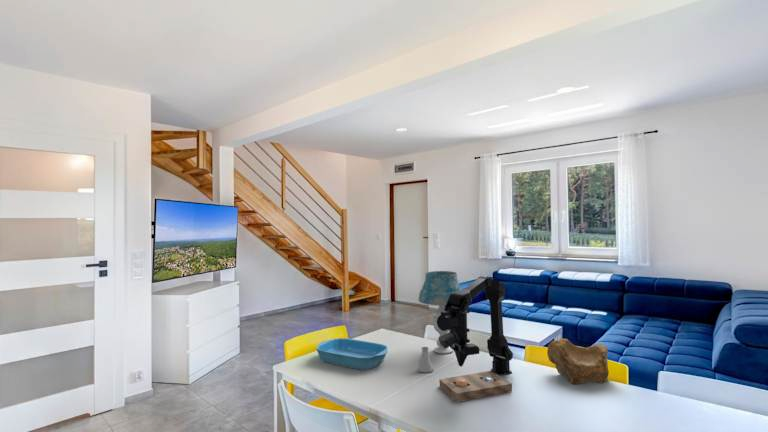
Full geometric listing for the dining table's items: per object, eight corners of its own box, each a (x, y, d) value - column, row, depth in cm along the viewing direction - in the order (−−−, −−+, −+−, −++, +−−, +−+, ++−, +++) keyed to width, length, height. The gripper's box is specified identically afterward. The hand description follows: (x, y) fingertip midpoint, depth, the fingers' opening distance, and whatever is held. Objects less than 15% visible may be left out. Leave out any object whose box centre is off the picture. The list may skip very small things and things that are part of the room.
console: (491, 377, 160) (490, 370, 160) (512, 391, 147) (511, 383, 147) (439, 386, 153) (439, 379, 153) (456, 401, 139) (456, 393, 139)
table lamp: (410, 351, 196) (408, 273, 197) (439, 340, 212) (437, 269, 213) (447, 362, 178) (445, 277, 179) (476, 350, 195) (473, 272, 196)
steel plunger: (489, 383, 154) (489, 375, 154) (496, 387, 150) (496, 379, 150) (480, 384, 153) (480, 376, 153) (486, 389, 149) (486, 380, 149)
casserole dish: (396, 359, 186) (396, 344, 186) (373, 375, 166) (373, 359, 166) (334, 349, 203) (334, 335, 203) (307, 362, 184) (307, 348, 184)
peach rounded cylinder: (463, 385, 151) (463, 377, 151) (469, 390, 147) (469, 381, 147) (453, 387, 149) (453, 379, 149) (459, 391, 145) (459, 383, 145)
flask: (433, 373, 166) (432, 350, 166) (416, 372, 168) (415, 350, 168) (434, 367, 173) (433, 345, 173) (418, 366, 175) (417, 344, 175)
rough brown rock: (549, 386, 152) (550, 350, 151) (546, 368, 168) (546, 335, 167) (616, 395, 145) (617, 357, 144) (606, 375, 160) (606, 340, 159)
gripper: (430, 322, 155) (431, 360, 154) (452, 334, 137) (453, 378, 137) (455, 319, 158) (455, 357, 158) (479, 331, 140) (480, 373, 140)
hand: (460, 366), depth 148 cm, fingers closed
